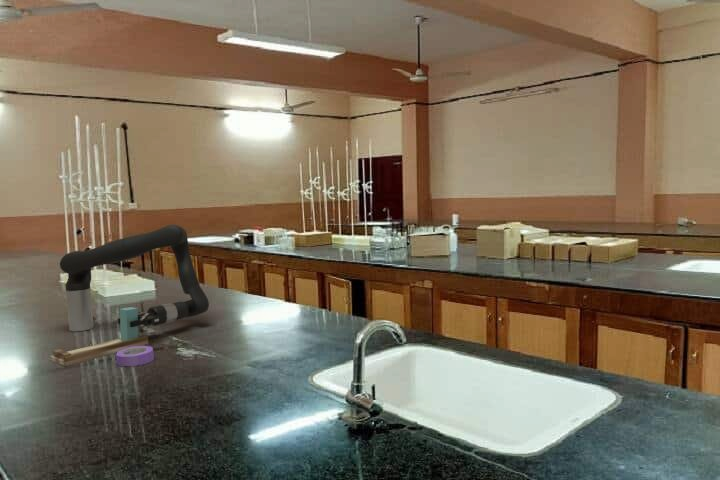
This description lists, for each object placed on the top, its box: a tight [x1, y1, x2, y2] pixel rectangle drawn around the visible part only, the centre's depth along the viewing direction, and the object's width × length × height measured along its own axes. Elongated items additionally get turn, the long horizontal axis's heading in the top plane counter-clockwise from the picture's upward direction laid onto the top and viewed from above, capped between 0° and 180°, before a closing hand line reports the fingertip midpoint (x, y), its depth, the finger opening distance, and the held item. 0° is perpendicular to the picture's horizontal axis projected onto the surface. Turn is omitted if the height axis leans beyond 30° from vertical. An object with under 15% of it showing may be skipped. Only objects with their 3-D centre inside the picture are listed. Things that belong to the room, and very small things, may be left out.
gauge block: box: [119, 306, 139, 341], centre depth 204 cm, size 4×4×12 cm
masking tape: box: [115, 345, 155, 367], centre depth 184 cm, size 12×12×4 cm
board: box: [49, 335, 149, 367], centre depth 195 cm, size 12×30×4 cm, turn 143°
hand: (124, 323), depth 202 cm, fingers open, 8 cm apart
